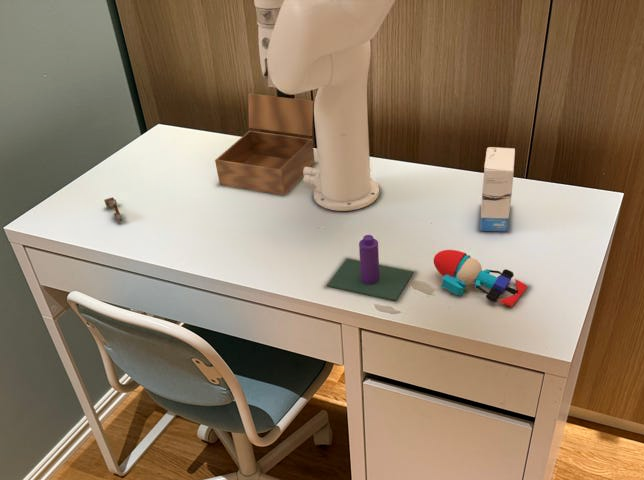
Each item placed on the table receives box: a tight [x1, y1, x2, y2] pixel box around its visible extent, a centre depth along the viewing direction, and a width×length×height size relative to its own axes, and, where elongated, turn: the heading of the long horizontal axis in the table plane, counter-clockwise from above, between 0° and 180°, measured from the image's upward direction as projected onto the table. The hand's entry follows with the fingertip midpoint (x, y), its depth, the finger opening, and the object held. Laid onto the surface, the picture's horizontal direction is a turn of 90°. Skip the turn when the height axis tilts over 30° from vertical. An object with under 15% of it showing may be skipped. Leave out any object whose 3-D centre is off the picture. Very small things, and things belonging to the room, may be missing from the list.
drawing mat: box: [326, 258, 414, 302], centre depth 116 cm, size 12×8×1 cm, turn 65°
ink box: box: [479, 146, 516, 232], centre depth 123 cm, size 8×5×12 cm, turn 168°
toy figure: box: [433, 249, 528, 307], centre depth 112 cm, size 8×5×15 cm
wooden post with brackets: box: [103, 196, 123, 223], centre depth 137 cm, size 2×8×4 cm, turn 28°
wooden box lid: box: [247, 93, 314, 137], centre depth 145 cm, size 15×7×1 cm
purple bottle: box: [358, 234, 380, 285], centre depth 113 cm, size 3×3×8 cm
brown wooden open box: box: [214, 130, 316, 197], centre depth 144 cm, size 15×14×5 cm
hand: (287, 107), depth 147 cm, fingers closed
